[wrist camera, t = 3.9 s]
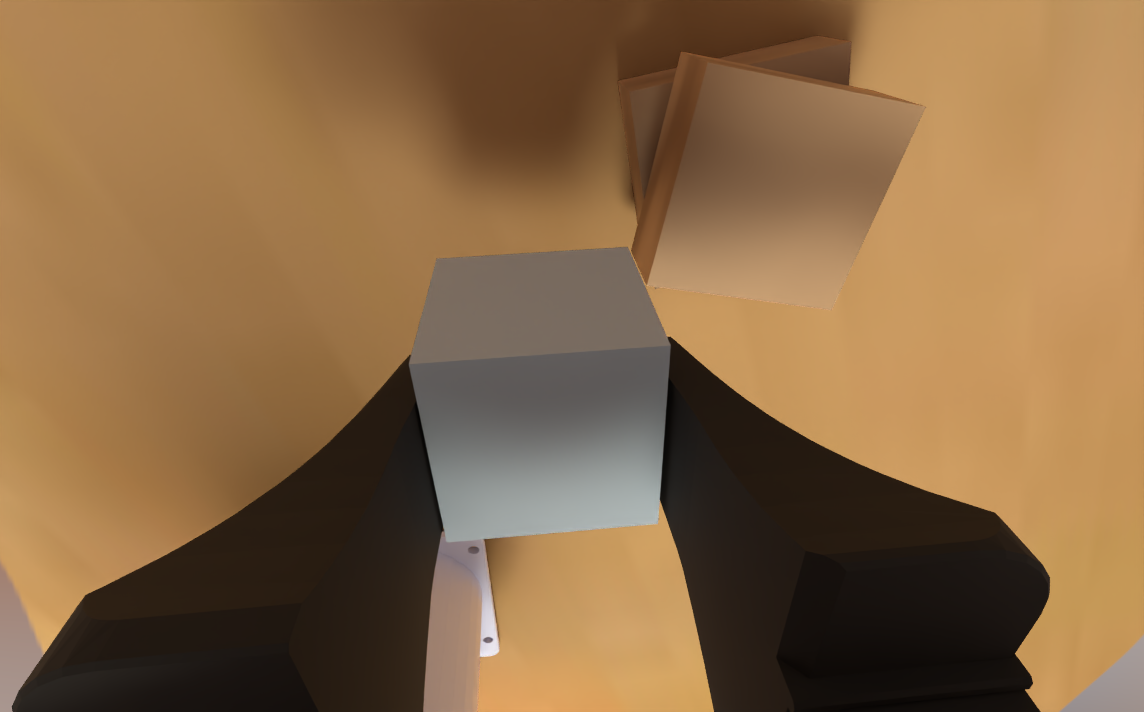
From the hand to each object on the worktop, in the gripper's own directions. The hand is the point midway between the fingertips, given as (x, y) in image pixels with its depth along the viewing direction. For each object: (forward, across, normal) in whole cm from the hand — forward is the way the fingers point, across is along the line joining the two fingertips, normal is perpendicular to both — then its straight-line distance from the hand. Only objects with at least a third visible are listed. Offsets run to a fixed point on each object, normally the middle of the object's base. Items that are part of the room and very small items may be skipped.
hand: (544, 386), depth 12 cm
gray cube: (+2, 0, 0) cm, 2 cm away
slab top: (+7, -6, -2) cm, 10 cm away
